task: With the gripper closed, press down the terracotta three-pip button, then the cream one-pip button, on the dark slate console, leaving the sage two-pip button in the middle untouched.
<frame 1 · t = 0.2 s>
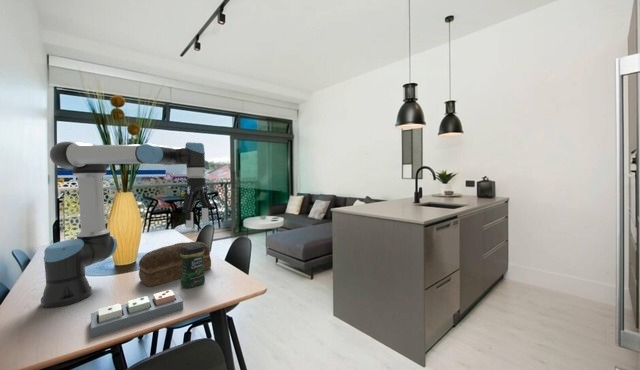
hand: (198, 224, 120), 28 cm above the table, fingers open, 13 cm apart
button two: (138, 304, 95), point 4 cm above the table, slide at 0.0 cm
console: (139, 315, 95), on the table
bread: (177, 275, 134), on the table
button one: (110, 312, 90), point 4 cm above the table, slide at 0.0 cm
button three: (164, 297, 100), point 4 cm above the table, slide at 0.0 cm
coffee jar: (193, 284, 121), on the table
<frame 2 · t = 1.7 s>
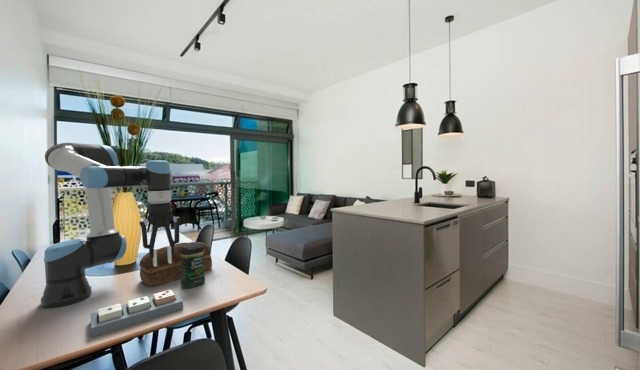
hand: (162, 264, 100), 17 cm above the table, fingers open, 4 cm apart
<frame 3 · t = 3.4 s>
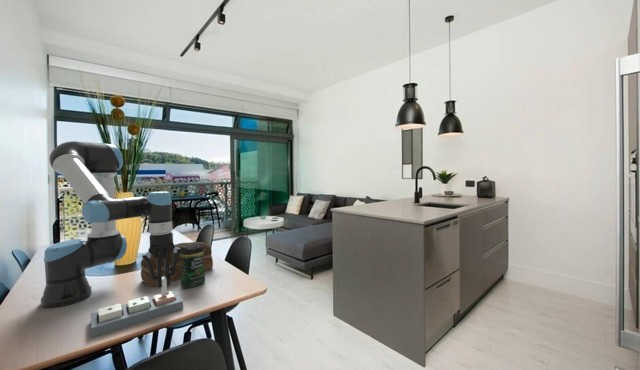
hand: (164, 294, 100), 5 cm above the table, fingers closed
button three: (164, 299, 101), point 3 cm above the table, slide at 0.6 cm, touching gripper
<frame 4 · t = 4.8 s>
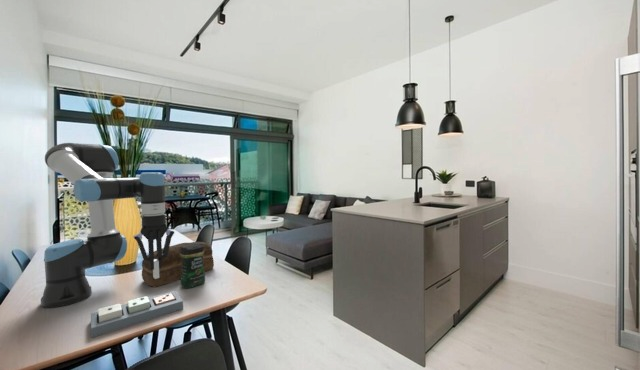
hand: (156, 277, 99), 12 cm above the table, fingers closed
button three: (164, 301, 101), point 2 cm above the table, slide at 1.5 cm
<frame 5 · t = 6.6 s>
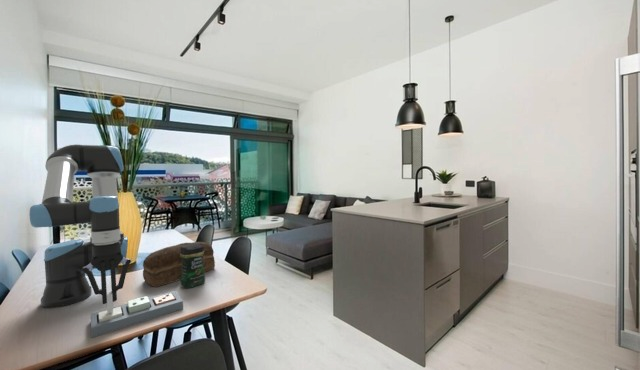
hand: (110, 311, 90), 4 cm above the table, fingers closed
button one: (110, 316, 90), point 3 cm above the table, slide at 1.2 cm, touching gripper
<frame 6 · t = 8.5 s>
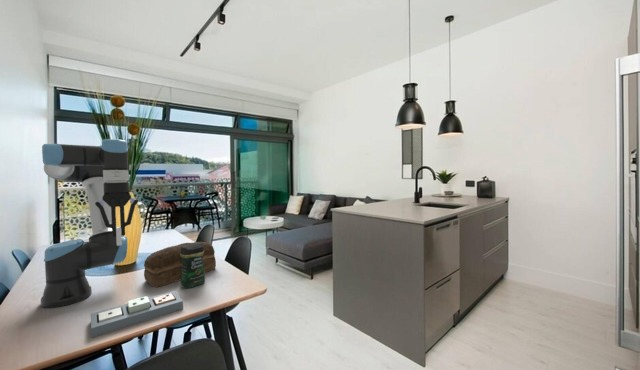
hand: (119, 244, 100), 24 cm above the table, fingers closed
button one: (110, 316, 90), point 2 cm above the table, slide at 1.5 cm
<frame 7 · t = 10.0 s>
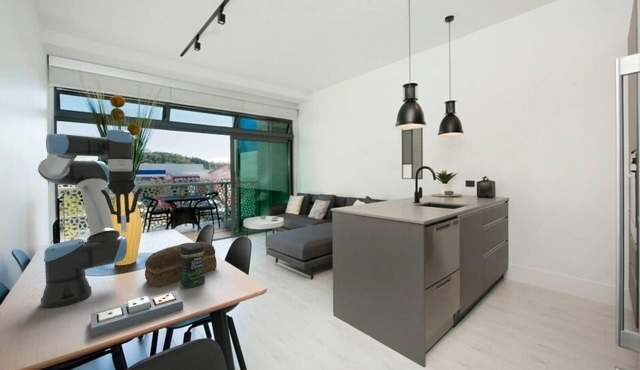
hand: (123, 231, 103), 28 cm above the table, fingers closed
at the end: button three slide at 1.5 cm; button one slide at 1.5 cm; button two slide at 0.0 cm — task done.
